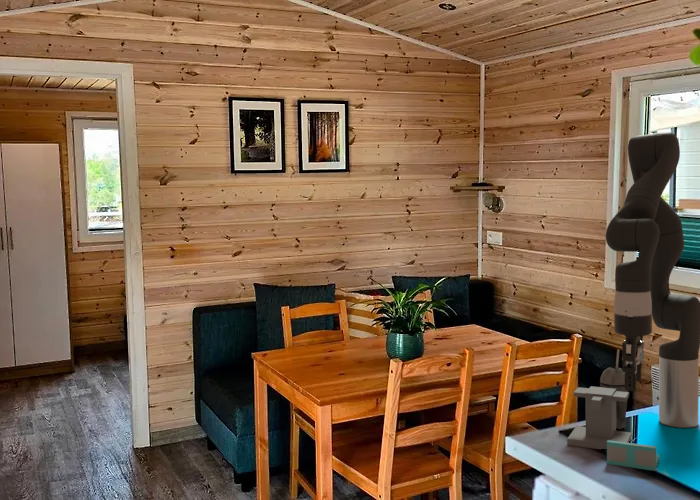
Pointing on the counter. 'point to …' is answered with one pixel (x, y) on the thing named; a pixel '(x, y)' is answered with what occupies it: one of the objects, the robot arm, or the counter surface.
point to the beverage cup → (616, 380)
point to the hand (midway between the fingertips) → (633, 385)
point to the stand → (599, 418)
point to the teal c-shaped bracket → (632, 455)
